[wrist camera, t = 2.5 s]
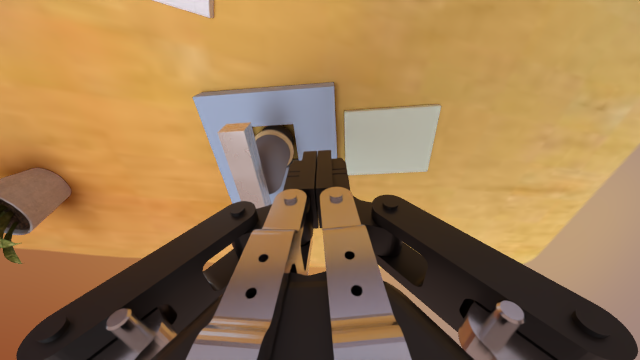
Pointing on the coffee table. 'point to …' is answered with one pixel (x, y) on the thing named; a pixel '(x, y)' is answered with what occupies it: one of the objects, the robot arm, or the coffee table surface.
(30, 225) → the house plant
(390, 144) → the pad
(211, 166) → the coffee table surface
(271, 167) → the plug
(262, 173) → the clip
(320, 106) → the plate
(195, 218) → the coffee table surface
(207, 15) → the external hard drive
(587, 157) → the coffee table surface
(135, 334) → the robot arm
